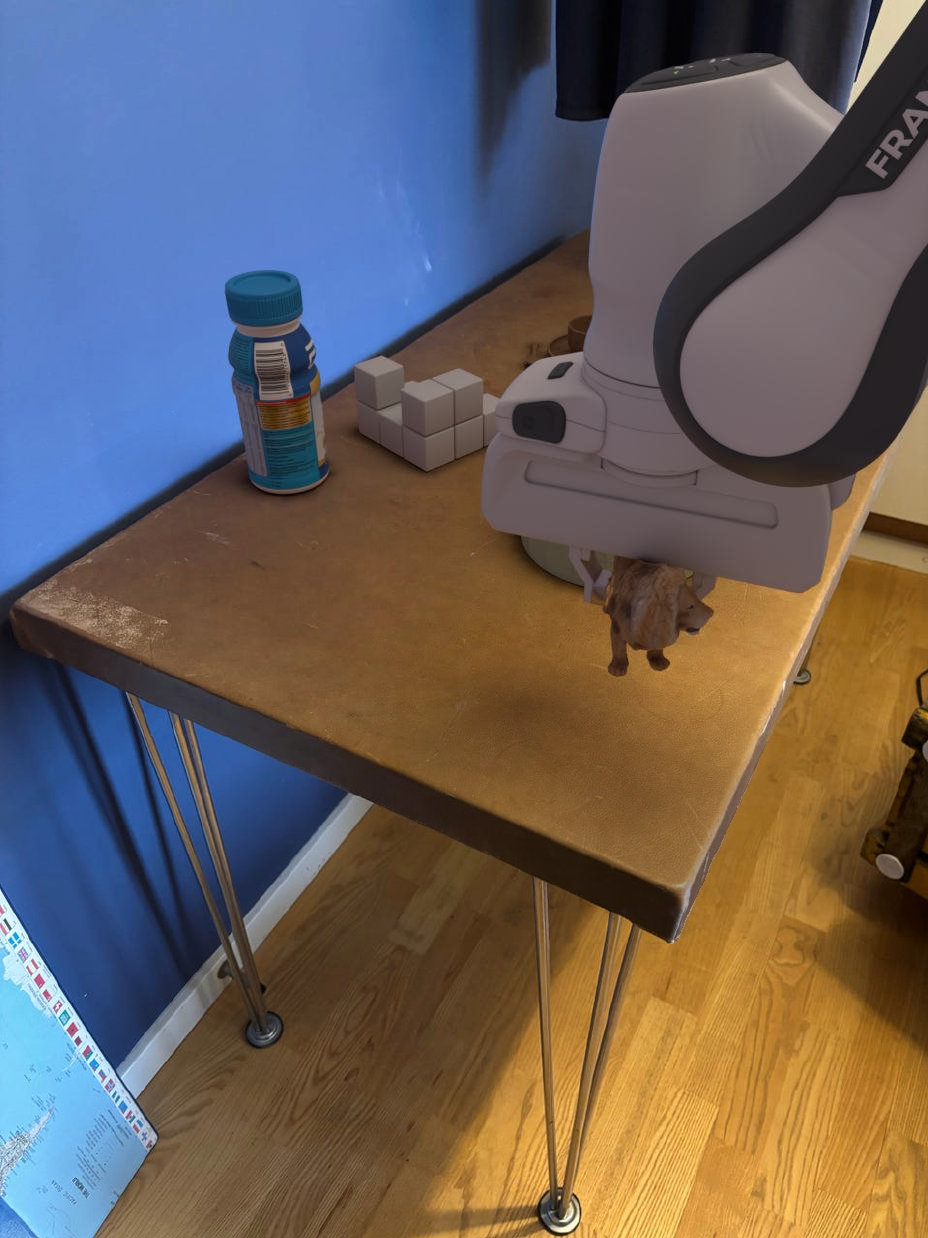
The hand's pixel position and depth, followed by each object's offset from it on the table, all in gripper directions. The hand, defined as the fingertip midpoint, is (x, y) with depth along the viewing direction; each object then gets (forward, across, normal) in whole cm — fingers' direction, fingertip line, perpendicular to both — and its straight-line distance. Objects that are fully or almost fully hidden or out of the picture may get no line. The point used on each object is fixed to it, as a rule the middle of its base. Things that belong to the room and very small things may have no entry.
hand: (637, 608), depth 58 cm
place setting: (+11, +20, -59) cm, 63 cm away
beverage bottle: (+11, +42, -23) cm, 49 cm away
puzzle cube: (+11, +32, -37) cm, 50 cm away
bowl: (+12, +8, -25) cm, 28 cm away
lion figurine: (+2, -1, 0) cm, 3 cm away
